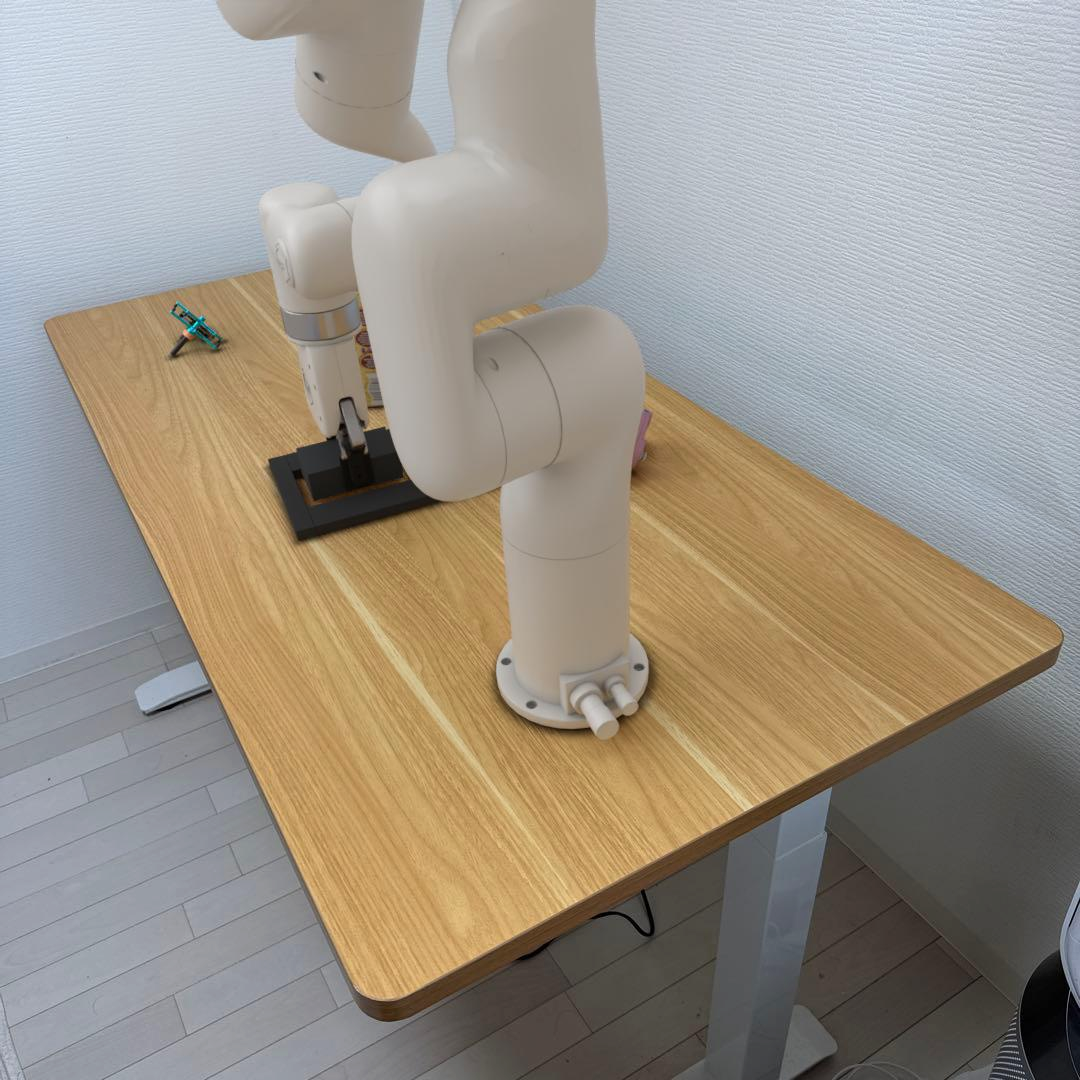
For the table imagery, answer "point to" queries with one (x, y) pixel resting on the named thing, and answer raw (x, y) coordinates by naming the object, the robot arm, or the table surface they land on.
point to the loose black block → (326, 471)
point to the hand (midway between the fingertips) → (352, 470)
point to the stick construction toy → (192, 329)
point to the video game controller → (641, 438)
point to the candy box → (367, 363)
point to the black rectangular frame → (340, 501)
